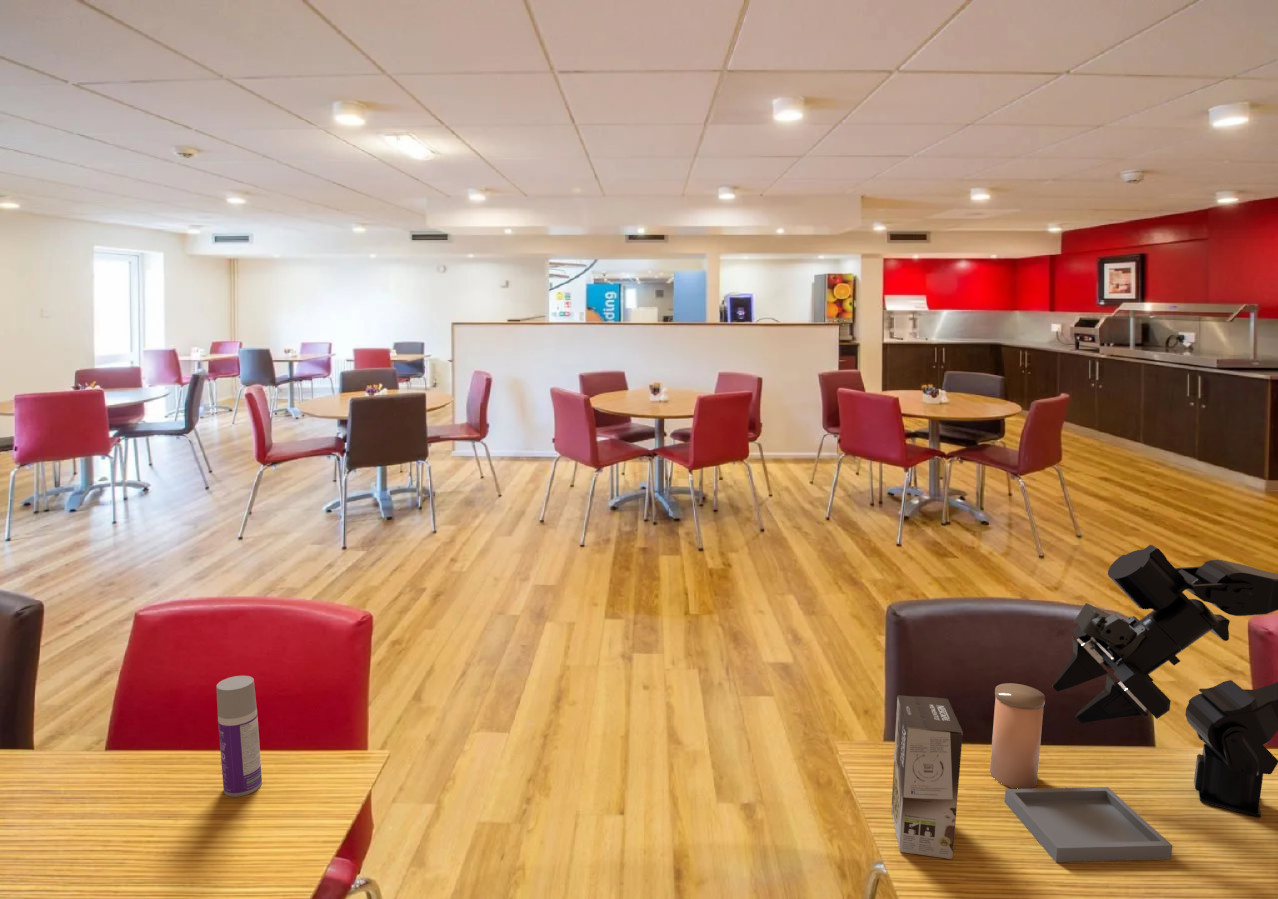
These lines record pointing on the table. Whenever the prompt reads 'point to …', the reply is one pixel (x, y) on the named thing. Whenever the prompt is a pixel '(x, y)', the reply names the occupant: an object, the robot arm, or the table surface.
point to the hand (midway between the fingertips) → (1065, 703)
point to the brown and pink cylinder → (1016, 735)
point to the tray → (1086, 825)
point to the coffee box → (926, 775)
